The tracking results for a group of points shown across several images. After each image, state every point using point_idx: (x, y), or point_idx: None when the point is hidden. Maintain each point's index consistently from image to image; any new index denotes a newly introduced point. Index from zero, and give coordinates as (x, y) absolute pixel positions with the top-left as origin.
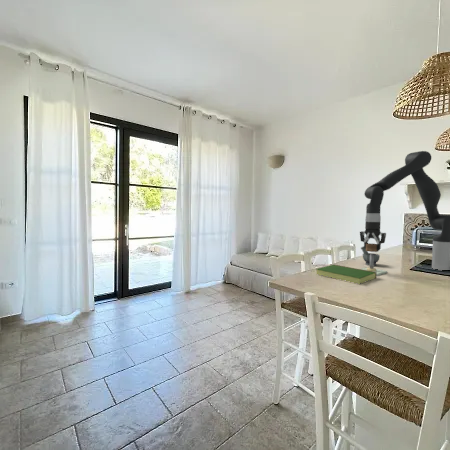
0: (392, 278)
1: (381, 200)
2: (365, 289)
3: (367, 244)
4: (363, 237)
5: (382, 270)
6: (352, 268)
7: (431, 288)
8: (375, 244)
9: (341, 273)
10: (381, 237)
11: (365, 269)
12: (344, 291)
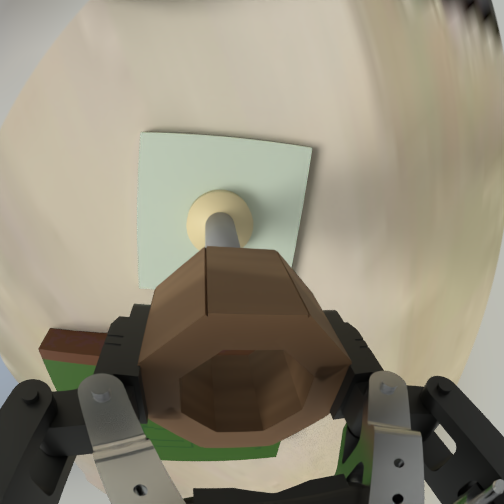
0: (360, 279)
1: None
2: (302, 451)
3: (204, 446)
4: (17, 458)
5: (280, 156)
6: None
7: (465, 308)
8: (291, 352)
9: (196, 455)
10: (440, 495)
11: (174, 223)
12: (266, 480)
